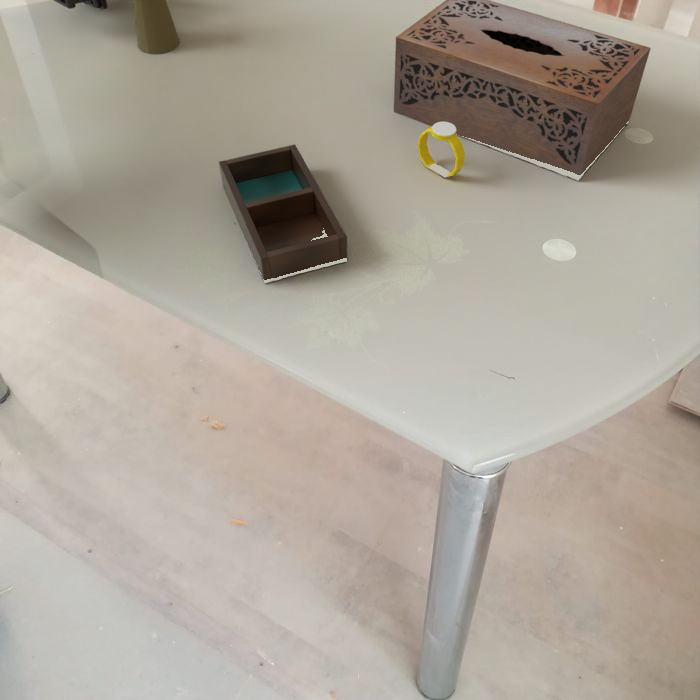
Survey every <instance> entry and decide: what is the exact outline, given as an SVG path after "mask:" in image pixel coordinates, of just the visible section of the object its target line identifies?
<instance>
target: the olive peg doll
mask: <svg viewBox="0 0 700 700" xmlns="http://www.w3.org/2000/svg"><path fill="white" fill-rule="evenodd" d="M132 3H133V13H134V21H135V31H136V32H135V33H136V42H137V48H138V49H139V51H141V52H143V53H145V54H149V55H159V54H160V55H161V54H165V53H168V52H171V51H173V50H175V49H176V48H177V47H178V46H179V45H180V38H179V34H178V32H177V29H176V25H175V23H174V20H173V18H172V14H171V11H170V8H169V5H168V2H167V0H132Z"/></svg>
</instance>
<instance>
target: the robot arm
mask: <svg viewBox="0 0 700 700" xmlns="http://www.w3.org/2000/svg"><path fill="white" fill-rule="evenodd" d="M53 1H54V2H56V4H59V5H60V6H63V7H65V8H67V9H70V10H72V9H75V8H76V7H77V5H76V4H80V6H89V7H92V8H94V9H99V10H101V11H105V10H107V9H108V8H109V6H108V2H107V0H53Z"/></svg>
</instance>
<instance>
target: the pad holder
mask: <svg viewBox="0 0 700 700" xmlns="http://www.w3.org/2000/svg"><path fill="white" fill-rule="evenodd" d="M218 165H219V171H220V176H221V182H222V183H221V184H222V187H223V189H224V192H225V194H226V196H227V199H228V202H229V204H230V207H231V209H232V211H233V213H234V216H235V218H236V220H237V223H238V225H239V227H240V230H241V233H242V234H244V235H243V237H244V239H245V242H246V241H247V242H246V244H247V243H248V244H247V246H248V245H249V246H248V249H249V248H250V249H249V251H250V250H251V251H250V253H251V252H252V253H251V255H252V254H253V256H252V258H253V257H254V258H253V260H254V259H255V260H254V262H255V261H256V263H257V265H258V267H259V270H260V272H261V274H262V277H263V279H264V280H267V279H271V278H277V277H279V276H283V275H286V274H290V273H294V272H297V271H301V270H304V269H308V268H310V267H315V266H317V265H321V264H325V263H329V262H333V261H337V260H340V259H343V258H347V259H348V237H347V235H346V232H345V230H344V229H343V227H342V226H341V224H340V222H339V220H338V219H337V217H336V215H335V213H334V212H333V209H332V208H331V206H330V204H329V202H328V201H327V198H326V197H325V195H324V193H323V192H322V190H321V188H320V186H319V184H318V183H317V181H316V179H315V177H314V176H313V173H312V171H311V170H310V168H309V167H308V165H307V163H306V161H305V160H304V158H303V155H302V153H301V152H300V150H299V148H298V147H297V145H296V144H295V143H294V144H289V145H286V146H282V147H278V148H272V149H269V150H265V151H260V152H256V153H251V154H246V155H242V156H238V157H233V158H229V159H226V160H225V159H223V160H220V161H218ZM323 228H324V229H323ZM323 230H325V233H326V234H327V236H328V237H324V238H320V239H316V240H312V239H313V238H316V237H320V236H322V235H323V234H324V233H322V231H323ZM311 240H312V241H311ZM256 263H255V264H256ZM257 265H256V266H257ZM258 267H257V268H258ZM259 270H258V271H259ZM260 272H259V273H260ZM261 274H260V275H261ZM262 277H261V278H262ZM263 279H262V280H263Z"/></svg>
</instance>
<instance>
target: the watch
mask: <svg viewBox="0 0 700 700" xmlns="http://www.w3.org/2000/svg"><path fill="white" fill-rule="evenodd" d="M429 134H431V136H432V137H433V138H434V139H436V140H437V141H442V142H448V144H449V146H450V147H451V149H452V150H453V154H454V157H455V162H454V163H455V164H454V168H453V169H452V170H453V171H452V170H451V171H452V172H450V173H449V174H448V176H452V177H454V176H455V175H456V174H458V173H459V172H460V171H461V170H462V169H463V167H464V166H465V160H466V153H465V149H464V145H463V143H462V141H461V140H460V138H459V136H457V135H456V127H455V126H454V125H453V124H452V123H449V122H437V123H435V124H434V125H433V126H431V125H430V127H428V128H427V129H425V130H424V131H423V132H422V133H420V135H419V137H418V141H417V149H418V156H419V158H420V160H421V162H422V164H423V166H424V167H425V166H428V167H430V165H432V164H435V163H437V162H436V161H435V160H434V158H433V157H432V155H431V154H430V152H429V148H428V138H429Z"/></svg>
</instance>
